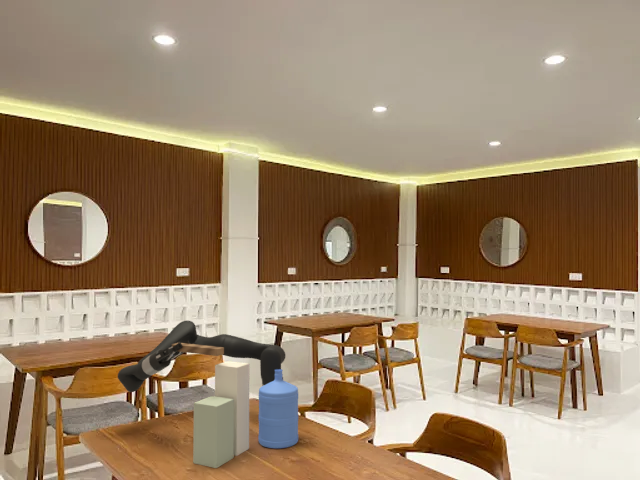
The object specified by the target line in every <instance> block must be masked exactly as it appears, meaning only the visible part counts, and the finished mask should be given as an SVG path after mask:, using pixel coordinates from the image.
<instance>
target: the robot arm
mask: <svg viewBox="0 0 640 480" xmlns="http://www.w3.org/2000/svg"><path fill="white" fill-rule="evenodd" d="M197 333H198V332H197V327H196V325H195V322H193V321H192V320H182V321H181V322H179V323H177V325H175V327H174V328H172V330H171V331H170V332H169V333H168V334H167V335H166V336H165V337H164V338H163V340H162V341H160V343H159V344H158V345H157V346H155V348H153V349H152V350H151V351H150V352H149V353H147V354H145V356H144V357H142V358H141V359H140V360H139V361H138V362H137V364H131V365H128V366H125V367H123V368H121V369H120V370H119V371H118V373H117V379H118V381H119V382H120V383H121V384H122V386H123V387H124V388H125V390H126V391H127V392H128V393H134V392H136V391H138V390H139V389H140V388H141V386H142V385H143V384H144V382H145V381H146V380H147V379H149V378H150V377H151V376H153V375H156V374H158V373H159V372H161V371H163V370H165V369H166V368H167V367H169V366H170V365H171V362H172V360H174V359H175V358H176V357H178V356H181V355H183V354H184V353H185V352H179V351H178V350H180V349H181V348H182V344H181V343H186V344H196V345H205V346H214V347H224V354H223V355H222V356H225V357H230V358H234V359H235V358H236V359H254V360H259V363H260V378H261V387H262V386H264V385H266V384H268V383H270V382H272V381H274V380H275V370H276V369H282V364H283V363H284V361H285V359H286V352H285V350H284V349H283V348H282V347H281V346H279V345H277V344H267V343H260V342H256V341H253V340H249V339H246V338H242V337H239V336H234V335H232V334H231V335H230V334H227V333H226V334H225V333H223V334H218V335H215V336H211V337H210V336H209V337H208V336H205V335H204V336H203V335H199V334H197ZM175 343H178V344H176V345H175V346H173V347H172V344H175ZM282 379H283V380H284V377H283V376H282Z"/></svg>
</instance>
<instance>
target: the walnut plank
mask: <svg viewBox="0 0 640 480" xmlns="http://www.w3.org/2000/svg"><path fill="white" fill-rule="evenodd" d="M176 344H178V343H175V344H172V347H173V346H175V345H176ZM181 344H182V348H181V349H180V350H178V351H179V352H184V353H188V354H189V353H190V354H197V355H204V356H212V357H213V356H215V357H219V356H224V355H223V354H224V347H214V346H205V345H196V344H186V343H181Z"/></svg>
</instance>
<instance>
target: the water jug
mask: <svg viewBox="0 0 640 480" xmlns="http://www.w3.org/2000/svg"><path fill="white" fill-rule="evenodd" d="M283 375H284V374H283V369H282V368H281V369H276V370H275V380H274V381H272V382H270V383H268V384H266V385H264V386H262V385H261V386H260V388H259V390H258V408H259V409H258V437H257V440H258V443H259V444H260V446H263V447H265V448H269V449H286V448H290V447H292V446H294V445H297V443H298V442H299V388H298V387H297V386H296V385H294V384H292V383H290V382H287V381H286V380H284V378H283V379H282V376H283Z"/></svg>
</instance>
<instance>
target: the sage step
mask: <svg viewBox="0 0 640 480" xmlns="http://www.w3.org/2000/svg"><path fill="white" fill-rule="evenodd" d="M192 437H193V442H192V443H193V447H192V448H193V451H192V452H193V453H192V455H193V457H192V463H193V464H196V465H200V466H205V467H209V468H214V469H217V468H219V467H221V466H223V465H224V464H226V463H228V462H229V461H231V460H232V459H234V455H233V449H234V399H229V398H222V397H215V395H210V396H208V397H205V398H203V399H201V400H198V401H196V402H193V436H192Z"/></svg>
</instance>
